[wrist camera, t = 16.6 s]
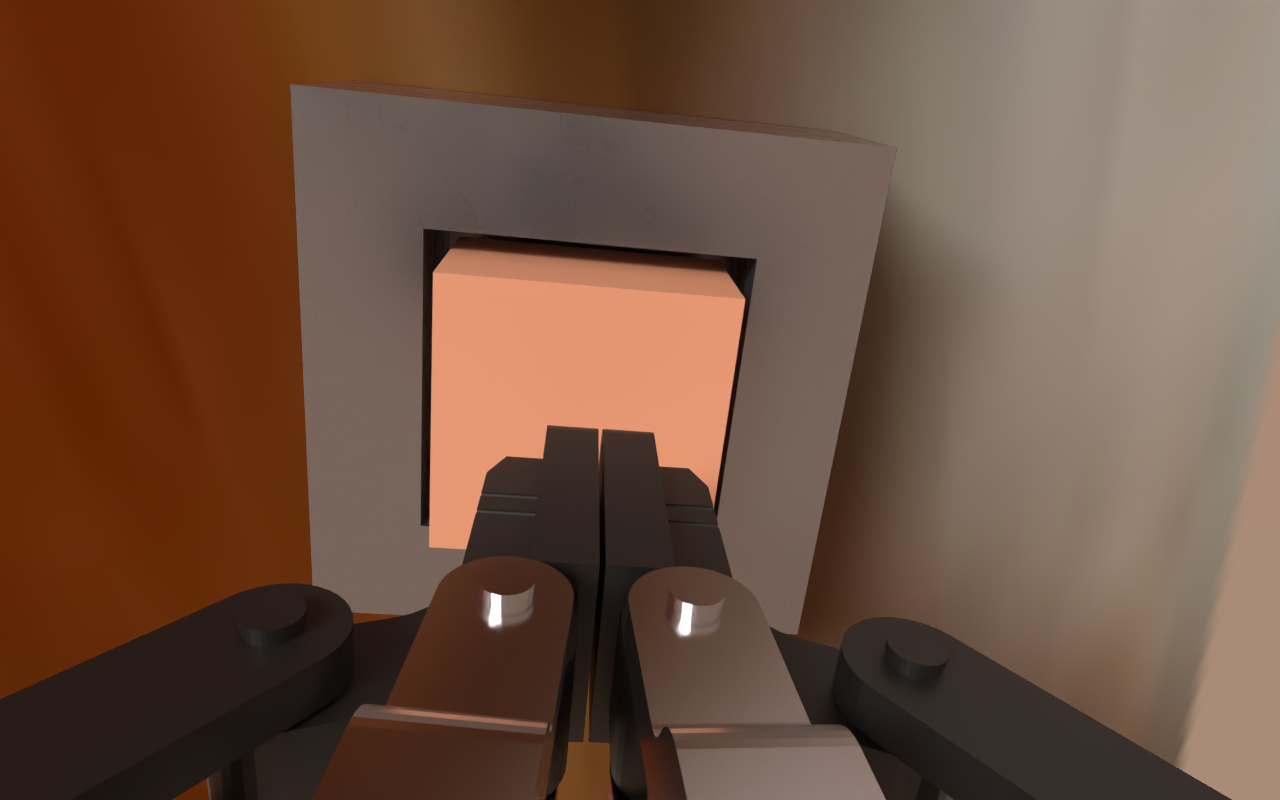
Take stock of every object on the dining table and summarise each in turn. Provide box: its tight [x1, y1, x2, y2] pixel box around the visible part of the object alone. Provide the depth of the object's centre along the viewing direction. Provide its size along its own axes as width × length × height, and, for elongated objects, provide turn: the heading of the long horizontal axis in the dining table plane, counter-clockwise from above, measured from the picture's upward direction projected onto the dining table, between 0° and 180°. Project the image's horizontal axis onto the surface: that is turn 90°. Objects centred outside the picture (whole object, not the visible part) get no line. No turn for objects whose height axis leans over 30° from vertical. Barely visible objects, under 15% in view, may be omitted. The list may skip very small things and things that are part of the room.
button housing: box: [290, 80, 897, 634], centre depth 18 cm, size 10×10×4 cm
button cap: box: [429, 237, 745, 549], centre depth 16 cm, size 5×5×3 cm
